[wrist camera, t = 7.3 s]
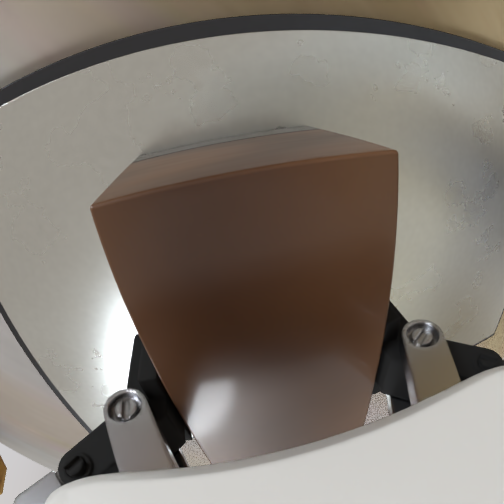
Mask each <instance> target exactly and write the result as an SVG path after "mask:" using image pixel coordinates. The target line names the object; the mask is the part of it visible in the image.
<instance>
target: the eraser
mask: <svg viewBox="0 0 504 504" xmlns="http://www.w3.org/2000/svg"><path fill="white" fill-rule="evenodd" d="M398 183H399V154H398V151H397V150H394V149H391V148H388V147H385V146H381V145H378V144H375V143H372V142H368V141H365V140H361V139H358V138H354V137H350V136H347V135H343V134H339V133H335V132H331V131H327V130H323V129H319V128H314V127H310V126H301V127H292V128H284V129H276V130H269V131H262V132H255V133H249V134H242V135H236V136H230V137H225V138H219V139H214V140H209V141H204V142H199V143H194V144H189V145H184V146H180V147H175V148H171V149H166V150H162V151H158V152H154V153H150V154H146V155H142V156H139V157H137V158H136V159H135V160H134V161H133V162H132V163H131V164H130V165H129V166H128V167H127V168H126V169H125V170H124V171H123V172H122V173H121V174H120V175H119V176H118V177H117V178H116V179H115V180H114V181H113V182H112V183H111V184H110V185H109V186H108V187H107V188H106V190H105V191H104V192H103V193H102V194H101V195H100V196H99V197H98V198H97V199H96V200H95V201H94V203H93V204H92V205H91V206H90V211H91V214H92V217H93V220H94V223H95V226H96V229H97V232H98V235H99V238H100V241H101V244H102V247H103V250H104V252H105V255H106V258H107V260H108V263H109V266H110V268H111V271H112V274H113V276H114V279H115V281H116V284H117V286H118V289H119V291H120V294H121V296H122V298H123V301H124V303H125V305H126V308H127V310H128V312H129V315H130V317H131V319H132V321H133V324H134V326H135V328H136V330H137V332H138V335H139V337H140V339H141V341H142V343H143V345H144V347H145V349H146V351H147V353H148V355H149V357H150V359H151V361H152V363H153V365H154V367H155V369H156V371H157V373H158V375H159V377H160V379H161V381H162V383H163V384H164V386H165V388H166V390H167V392H168V394H169V395H170V397H171V399H172V401H173V403H174V404H175V406H176V408H177V410H178V411H179V413H180V415H181V417H182V418H183V420H184V422H185V423H186V425H187V427H188V428H189V430H190V432H191V433H192V435H193V436H194V438H195V440H196V441H197V443H198V444H199V446H200V448H201V449H202V451H203V452H204V454H205V455H206V457H207V458H208V460H209V461H210V463H211V464H217V463H223V462H229V461H235V460H240V459H246V458H251V457H256V456H260V455H265V454H269V453H274V452H278V451H282V450H286V449H290V448H294V447H298V446H302V445H305V444H309V443H312V442H316V441H319V440H322V439H326V438H329V437H332V436H335V435H338V434H341V433H344V432H347V431H350V430H353V429H355V428H358V427H361V426H364V423H365V419H366V415H367V412H368V408H369V404H370V400H371V396H372V392H373V387H374V383H375V379H376V374H377V370H378V365H379V360H380V355H381V350H382V344H383V339H384V333H385V327H386V321H387V315H388V308H389V301H390V293H391V285H392V277H393V268H394V257H395V246H396V232H397V215H398Z"/></svg>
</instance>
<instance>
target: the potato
mask: <svg viewBox="0 0 504 504" xmlns="http://www.w3.org/2000/svg"><path fill="white" fill-rule="evenodd" d="M6 470H7V468H6V466H5V464H4V462H3V460H2V458H1V456H0V495H1V494H2V493H3V487H4V481H5V475H6Z"/></svg>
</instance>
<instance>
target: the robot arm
mask: <svg viewBox="0 0 504 504" xmlns="http://www.w3.org/2000/svg"><path fill="white" fill-rule="evenodd" d="M380 391H381V392H382V393H383V394H386V397H387V405H388V413H389V416H387V417H384V418H382V419H379V420H377V421H374V422H372V423H369V424H366V425H364V426H361V427H358V428H355V429H353V430H350V431H347V432H344V433H341V434H338V435H335V436H332V437H329V438H326V439H322V440H319V441H316V442H312V443H309V444H305V445H302V446H298V447H294V448H290V449H286V450H282V451H278V452H274V453H269V454H265V455H260V456H256V457H251V458H246V459H240V460H235V461H229V462H223V463H217V464H210V465H202V466H194V467H190V466H189V464H188V462H187V460H186V458H185V456H184V454H183V452H182V450H181V447H182V446H183V445H184V444H185V443H186V441H185V440H192V433H191V432H190V430H189V428H188V427H187V425H186V423H185V422H184V420H183V418H182V417H181V415H180V413H179V411H178V410H177V408H176V406H175V404H174V403H173V401H172V399H171V397H170V395H169V394H168V392H167V390H166V388H165V386H164V384H163V383H162V381H161V379H160V377H159V375H158V373H157V371H156V369H155V367H154V365H153V363H152V361H151V359H150V357H149V355H148V353H147V351H146V349H145V347H144V345H143V343H142V341H141V339H140V337H139V335H138V334H136V335H135V337H134V342H133V348H132V354H131V361H130V368H129V375H128V382H127V388H126V389H122V390H119V391H117V392H115V393H113V394H112V395H111V396H110V397H109V398H108V399H107V401H106V402H105V405H104V408H103V415H104V419H105V421H104V422H103V423H101V424H100V425H99V426H98V427H97V428H96V429H94V430H93V431H92V432H91V433H90V434H89V435H87V436H86V437H85V438H84V439H83V440H81V441H80V442H79V443H78V444H77V445H76V446H74V447H73V448H72V449H71V450H70V451H68V452H67V453H66V454H65V455H64V456H63V457H62V459H61V461H60V463H59V467H58V471H57V472H56V473H55V472H53V471H51V472H50V473H49V474H47V475H46V476H44V477H43V478H42V479H40V480H39V481H37V482H36V483H35V484H33V485H32V486H30V487H29V488H28V489H26V490H25V491H24V492H22V493H21V494H19V495H18V496H17V497H16V498H15V501H14V503H13V504H504V360H502V358H501V357H500V356H499V354H498V353H496V352H494V351H493V350H490V349H486V348H482V347H477V346H472V345H468V344H463V343H459V342H454V341H450V340H446V339H445V336H444V334H443V331H442V330H441V328H440V327H439V326H438V325H437V324H435V323H433V322H431V321H428V320H422V319H417V320H413V321H410V322H408V321H407V320H406V319H405V318H404V316H403V315H402V314H401V313H400V312H399V310H398V309H397V308H396V307H395V306H394V305H393V303H392V302H391V301H389V308H388V315H387V321H386V327H385V333H384V339H383V344H382V350H381V355H380V360H379V365H378V370H377V374H376V379H375V383H374V387H373V392H372V394H375V393H378V392H380Z"/></svg>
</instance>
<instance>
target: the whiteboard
mask: <svg viewBox="0 0 504 504" xmlns="http://www.w3.org/2000/svg"><path fill="white" fill-rule="evenodd" d="M301 126H310V127H314V128H319V129H323V130H327V131H331V132H335V133H339V134H343V135H347V136H350V137H354V138H358V139H361V140H365V141H368V142H372V143H375V144H378V145H381V146H385V147H388V148H391V149H394V150H397V151H398V154H399V183H398V215H397V232H396V246H395V257H394V268H393V277H392V285H391V293H390V301H391V302H392V303H393V305H394V306H395V307H396V308H397V309H398V310H399V312H400V313H401V314H402V315H403V316H404V318H405V319H406V320H407V321H408V322H410V321H413V320H417V319H422V320H428V321H431V322H433V323H435V324H437V325H438V326H439V327H440V328H441V330H442V331H443V334H444V336H445V339H446V340H450V341H454V342H459V343H463V344H468V345H472V346H475V345H477V344H479V343H481V342H482V341H484V340H486V339H488V338H489V337H491V336H493V335H494V334H495V331H496V329H497V326H498V324H499V321H500V319H501V316H502V314H503V311H504V51H501V50H499V49H496V48H493V47H490V46H488V45H485V44H482V43H479V42H476V41H473V40H470V39H466V38H463V37H460V36H456V35H453V34H449V33H445V32H441V31H437V30H433V29H429V28H424V27H420V26H415V25H410V24H404V23H399V22H393V21H386V20H379V19H372V18H363V17H354V16H342V15H325V14H268V15H251V16H239V17H229V18H220V19H212V20H205V21H199V22H193V23H187V24H181V25H176V26H171V27H166V28H162V29H157V30H153V31H149V32H145V33H141V34H137V35H133V36H129V37H126V38H122V39H119V40H116V41H112V42H109V43H106V44H103V45H100V46H97V47H94V48H91V49H88V50H85V51H83V52H80V53H77V54H75V55H72V56H70V57H67V58H65V59H62V60H60V61H57V62H55V63H53V64H50V65H48V66H46V67H44V68H41V69H39V70H37V71H35V72H33V73H31V74H29V75H27V76H25V77H23V78H21V79H19V80H17V81H15V82H13V83H11V84H9V85H7V86H5V87H4V88H2V89H0V313H1V314H2V316H3V318H4V320H5V321H6V323H7V325H8V326H9V328H10V330H11V331H12V333H13V335H14V336H15V338H16V339H17V341H18V343H19V344H20V346H21V347H22V349H23V350H24V352H25V353H26V355H27V356H28V358H29V359H30V361H31V362H32V363H33V365H34V366H35V368H36V369H37V370H38V372H39V373H40V375H41V376H42V377H43V379H44V380H45V381H46V383H47V384H48V385H49V387H50V388H51V389H52V390H53V392H54V393H55V394H56V395H57V397H58V398H59V399H60V400H61V402H62V403H63V404H64V405H65V406H66V408H67V409H68V410H69V411H70V412H71V413H72V415H73V416H74V417H75V418H76V419H77V420H78V421H79V422H80V424H81V425H82V426H83V427H84V428H85V429H86V430H87V431H88V432H89V433H91V432H92V431H93V430H94V429H96V428H97V427H98V426H99V425H100V424H101V423H103V422H104V421H105V419H104V415H103V408H104V405H105V402H106V401H107V399H108V398H109V397H110V396H111V395H112V394H113V393H115V392H117V391H119V390H122V389H126V388H127V382H128V375H129V368H130V361H131V354H132V348H133V342H134V337H135V335H136V334H138V332H137V330H136V328H135V326H134V324H133V321H132V319H131V317H130V315H129V312H128V310H127V308H126V305H125V303H124V301H123V298H122V296H121V294H120V291H119V289H118V286H117V284H116V281H115V279H114V276H113V274H112V271H111V268H110V266H109V263H108V260H107V258H106V255H105V252H104V250H103V247H102V244H101V241H100V238H99V235H98V232H97V229H96V226H95V223H94V220H93V217H92V214H91V211H90V206H91V205H92V204H93V203H94V201H95V200H96V199H97V198H98V197H99V196H100V195H101V194H102V193H103V192H104V191H105V190H106V188H107V187H108V186H109V185H110V184H111V183H112V182H113V181H114V180H115V179H116V178H117V177H118V176H119V175H120V174H121V173H122V172H123V171H124V170H125V169H126V168H127V167H128V166H129V165H130V164H131V163H132V162H133V161H134V160H135V159H136V158H137V157H139V156H142V155H146V154H150V153H154V152H158V151H162V150H166V149H171V148H175V147H180V146H184V145H189V144H194V143H199V142H204V141H209V140H214V139H219V138H225V137H230V136H236V135H242V134H249V133H255V132H262V131H269V130H276V129H284V128H292V127H301ZM192 438H194V436H193V435H192Z"/></svg>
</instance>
